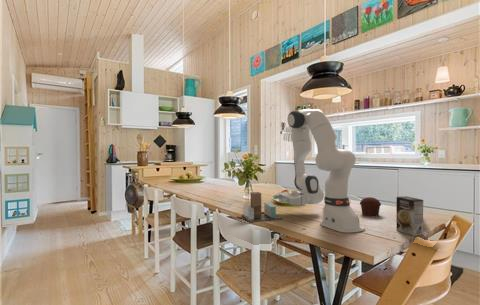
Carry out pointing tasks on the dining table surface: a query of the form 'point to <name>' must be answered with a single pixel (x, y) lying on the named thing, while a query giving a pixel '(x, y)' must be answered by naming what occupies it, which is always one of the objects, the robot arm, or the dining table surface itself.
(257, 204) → the walnut block
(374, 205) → the muffin
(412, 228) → the coffee box
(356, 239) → the dining table surface
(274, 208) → the sliding jaw
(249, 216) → the vise
